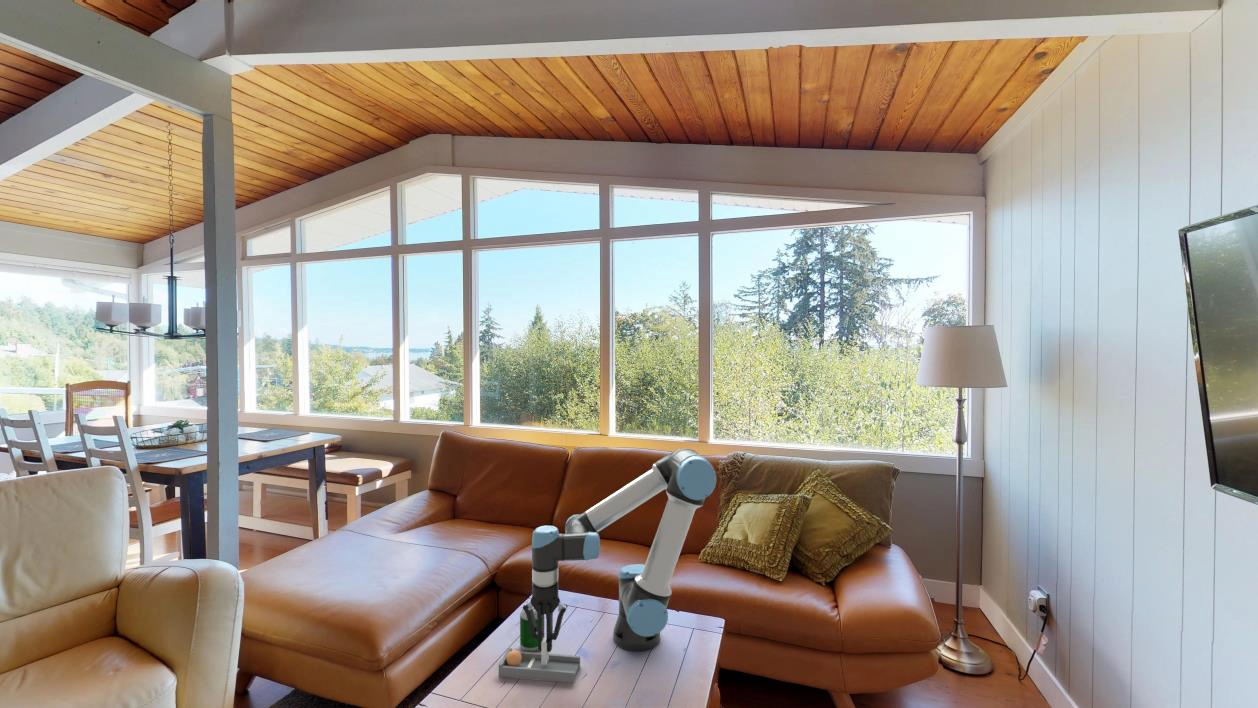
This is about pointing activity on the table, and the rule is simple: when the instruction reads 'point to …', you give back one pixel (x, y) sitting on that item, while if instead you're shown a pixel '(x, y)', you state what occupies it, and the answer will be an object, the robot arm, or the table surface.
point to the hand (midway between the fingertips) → (545, 661)
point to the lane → (542, 667)
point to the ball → (514, 658)
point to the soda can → (527, 633)
